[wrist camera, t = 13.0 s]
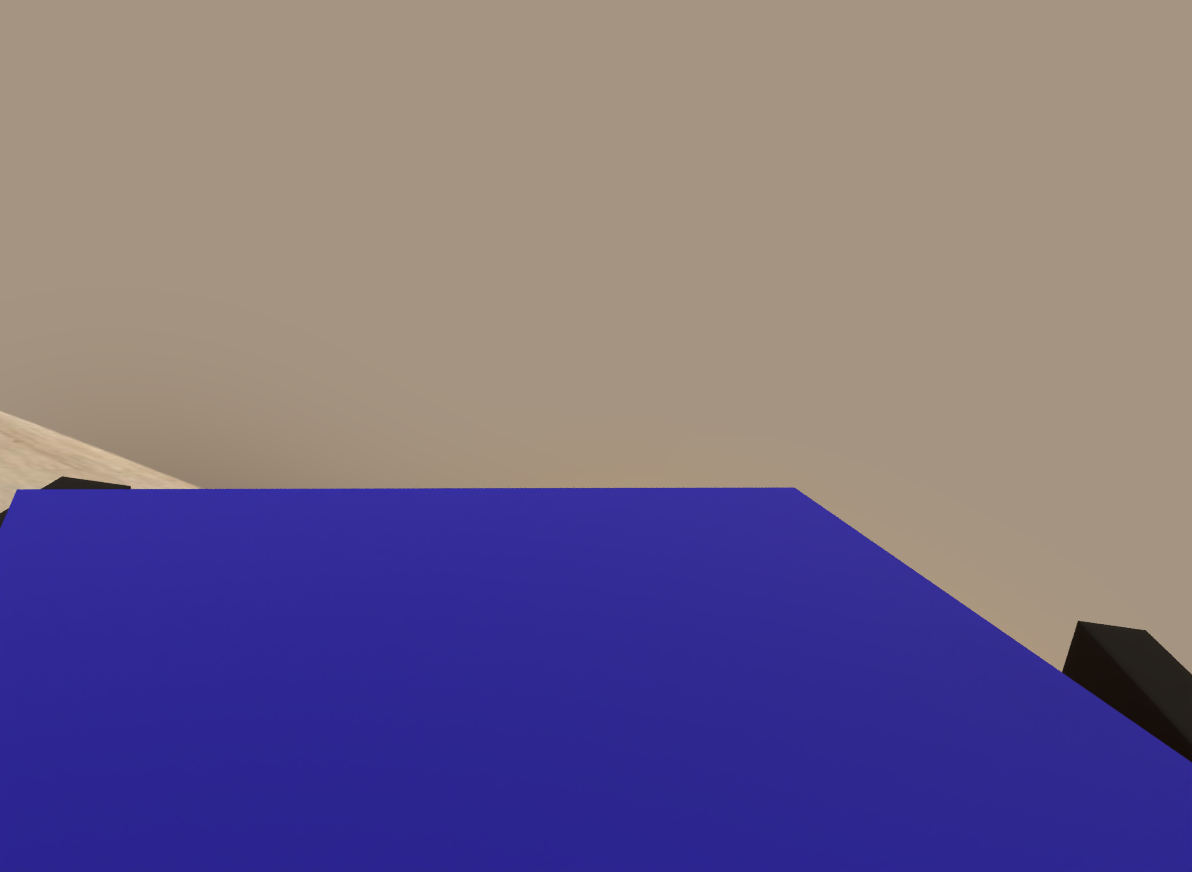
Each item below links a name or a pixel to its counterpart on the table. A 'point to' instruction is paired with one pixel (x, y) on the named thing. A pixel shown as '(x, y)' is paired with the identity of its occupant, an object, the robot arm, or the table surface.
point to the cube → (534, 693)
